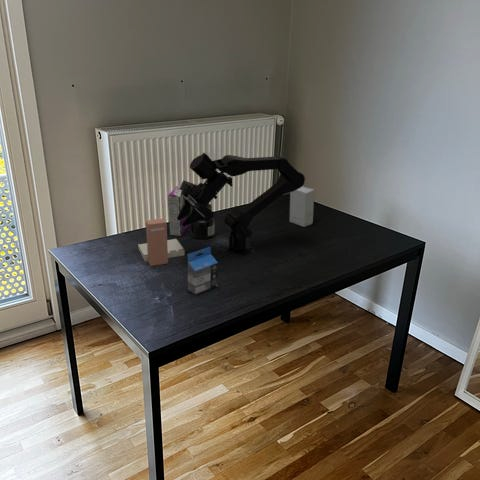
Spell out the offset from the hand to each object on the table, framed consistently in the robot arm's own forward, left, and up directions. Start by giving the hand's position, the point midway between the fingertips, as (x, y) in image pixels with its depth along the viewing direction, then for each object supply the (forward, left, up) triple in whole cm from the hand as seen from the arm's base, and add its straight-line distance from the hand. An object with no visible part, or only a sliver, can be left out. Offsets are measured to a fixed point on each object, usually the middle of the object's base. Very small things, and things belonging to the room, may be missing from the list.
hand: (180, 222), depth 159 cm
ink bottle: (+4, -21, -14) cm, 25 cm away
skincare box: (-24, -52, -14) cm, 59 cm away
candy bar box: (+14, -20, -14) cm, 28 cm away
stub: (+5, +6, -14) cm, 16 cm away
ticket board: (+9, -1, -14) cm, 16 cm away
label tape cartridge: (-17, +13, -14) cm, 25 cm away
